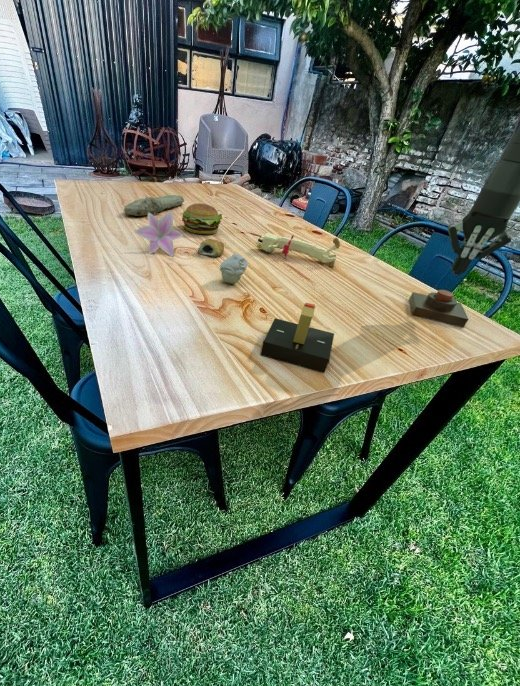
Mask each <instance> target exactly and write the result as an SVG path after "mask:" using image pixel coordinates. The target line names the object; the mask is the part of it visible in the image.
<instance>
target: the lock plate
mask: <svg viewBox="0 0 520 686" xmlns="http://www.w3.org/2000/svg"><path fill="white" fill-rule="evenodd" d="M297 326H298V323H296V322H291V321H287V320H285V319H280V318H276V317H275V318H274V319H273V321H272V323H271V325H270V327H269V329H268V331H267V333H266V335H265V337H264V339H263V342H262V345H261V350H260V356H263V357H266V358H270V359H274V360H277V361H281V362H284V363H287V364H292V365H294V366H298V367H301V368H305V369H309V370H313V371H316V372H320V373H325V372H326V370H327V368H328V365H329V362H330V359H331V355H332V354H331V353H332V348H333V342H334V337H335V333H334V332H330V331H326V330H323V329H318V328H315V327H311V326H309V329H308V333H307V336H306V339H305V342H304V344H300V343H296V342H293V340H294V337H295V333H296V330H297Z"/></svg>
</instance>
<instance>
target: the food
mask: <svg viewBox="0 0 520 686" xmlns="http://www.w3.org/2000/svg"><path fill="white" fill-rule="evenodd" d="M180 215H182V218H181V221H182V222H183V224H184V225H183V228H184V229H185V230H186V231H187V232H189V233H192V234H196V235H206V236H207V235H214V234H216V233H218V231H219V226H220V224H221V222H222V220H223V219H222V218H223V216H222V215H223V213H219V211H218V210H217V209H216V207H214V206H212V205H210V204H206V203H198V202H197V203H193V204H190V205H188V206H187V207H186V209H185V210H183V212H180Z"/></svg>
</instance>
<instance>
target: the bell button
mask: <svg viewBox="0 0 520 686" xmlns="http://www.w3.org/2000/svg"><path fill="white" fill-rule="evenodd" d="M436 293H437V294H436V295H435V298H437V299H439V300H441V301H445V302H450V301H451V299H452V298H454V296H455V294H454V293H453V292H451V291H449V290H446V289H438V290H437V292H436Z"/></svg>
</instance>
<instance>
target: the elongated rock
mask: <svg viewBox="0 0 520 686" xmlns="http://www.w3.org/2000/svg"><path fill="white" fill-rule="evenodd" d="M183 203H185V198H184V196H183V195H177V194H172V195H171V194H167V195H164V196H163V195H162V196H157V197H153V196H145V198H140V199H137V200H134V201H133V202H130V203H128V204H126V205H124V207H123V212H124V214H126V215H129V216H130V215H131V216H135V217H139V216H148V213H151V214H152V215H154V216H155V215H156V214H158V212H163V211H164V210H165V209H171V208H175V207H179V206H180V205H183Z"/></svg>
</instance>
